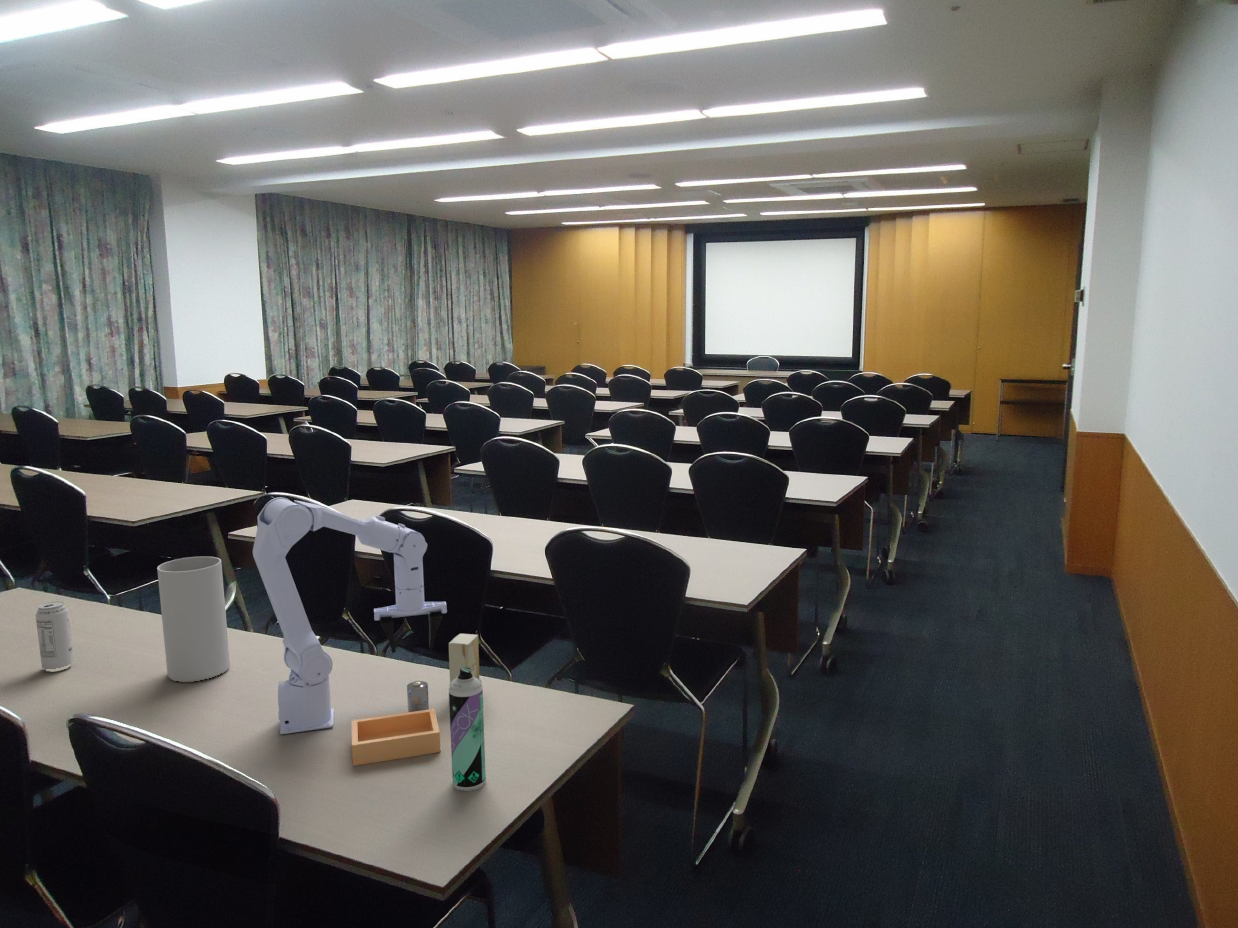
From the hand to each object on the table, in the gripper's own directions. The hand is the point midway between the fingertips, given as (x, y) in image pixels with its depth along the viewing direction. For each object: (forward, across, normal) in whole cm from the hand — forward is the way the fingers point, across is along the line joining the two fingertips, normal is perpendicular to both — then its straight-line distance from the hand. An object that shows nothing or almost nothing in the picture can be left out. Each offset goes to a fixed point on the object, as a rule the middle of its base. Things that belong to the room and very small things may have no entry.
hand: (412, 648), depth 174 cm
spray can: (+10, -6, +40) cm, 42 cm away
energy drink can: (+10, +76, -39) cm, 86 cm away
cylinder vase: (+10, +45, -26) cm, 53 cm away
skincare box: (+10, -10, +5) cm, 15 cm away
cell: (+9, 0, +11) cm, 14 cm away
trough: (+9, +5, +23) cm, 25 cm away
